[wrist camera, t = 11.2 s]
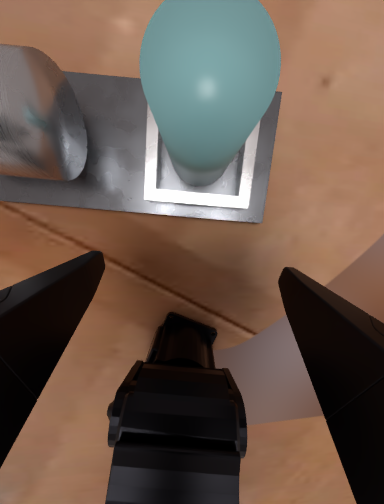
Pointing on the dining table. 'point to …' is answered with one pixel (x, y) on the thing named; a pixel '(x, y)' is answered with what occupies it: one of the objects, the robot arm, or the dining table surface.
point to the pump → (208, 80)
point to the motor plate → (110, 147)
